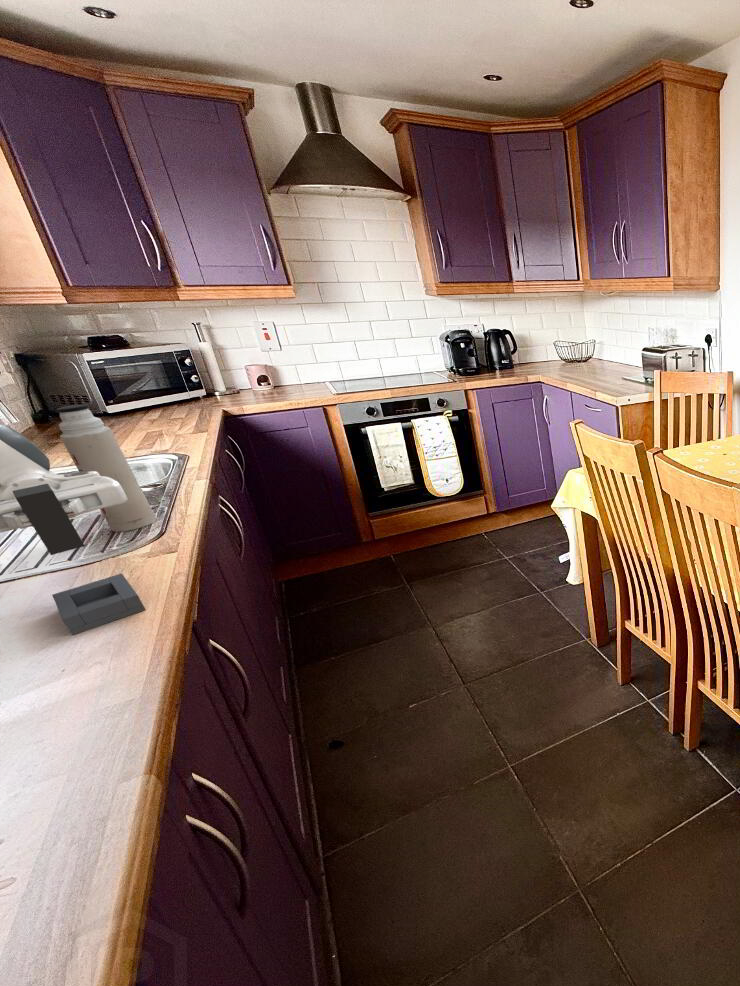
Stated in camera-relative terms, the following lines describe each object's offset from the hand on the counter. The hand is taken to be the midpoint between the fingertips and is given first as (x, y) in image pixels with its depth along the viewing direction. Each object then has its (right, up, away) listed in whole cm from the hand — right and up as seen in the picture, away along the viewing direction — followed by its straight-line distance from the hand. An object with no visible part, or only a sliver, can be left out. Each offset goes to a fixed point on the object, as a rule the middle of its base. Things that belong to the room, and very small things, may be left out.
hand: (48, 517), depth 94 cm
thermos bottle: (-29, 0, +43) cm, 52 cm away
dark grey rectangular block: (0, -5, +3) cm, 6 cm away
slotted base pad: (+3, -16, +6) cm, 17 cm away
